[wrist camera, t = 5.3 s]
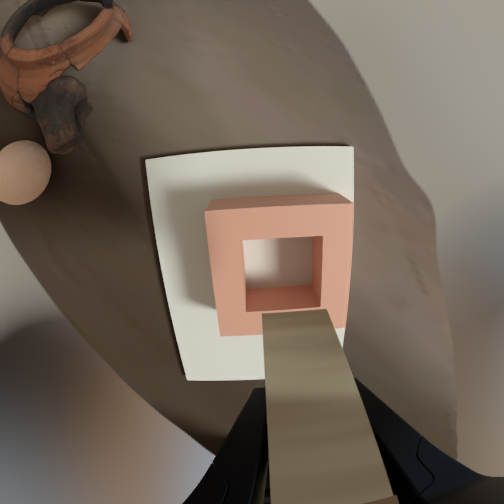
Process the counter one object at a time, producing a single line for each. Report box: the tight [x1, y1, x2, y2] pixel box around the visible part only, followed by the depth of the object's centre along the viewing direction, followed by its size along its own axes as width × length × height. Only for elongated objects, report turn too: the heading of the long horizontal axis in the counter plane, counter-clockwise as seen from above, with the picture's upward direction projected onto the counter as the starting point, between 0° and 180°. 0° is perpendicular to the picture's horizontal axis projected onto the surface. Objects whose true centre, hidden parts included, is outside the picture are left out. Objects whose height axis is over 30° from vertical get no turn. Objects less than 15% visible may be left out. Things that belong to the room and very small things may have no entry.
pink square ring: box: [204, 194, 354, 336], centre depth 18 cm, size 8×8×3 cm
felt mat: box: [145, 146, 354, 381], centre depth 21 cm, size 18×13×1 cm
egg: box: [0, 140, 51, 205], centre depth 15 cm, size 4×4×6 cm
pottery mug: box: [0, 0, 133, 155], centre depth 13 cm, size 12×10×8 cm
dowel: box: [262, 309, 399, 504], centre depth 8 cm, size 3×3×9 cm
